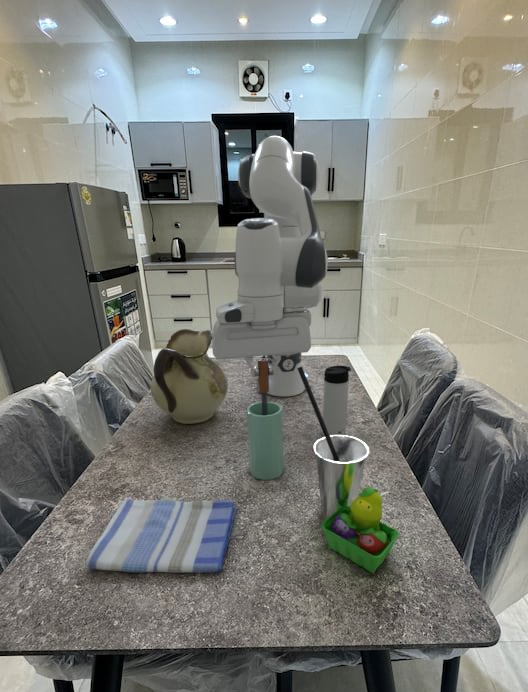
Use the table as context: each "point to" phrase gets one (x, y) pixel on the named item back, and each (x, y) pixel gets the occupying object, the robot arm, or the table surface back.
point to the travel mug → (335, 399)
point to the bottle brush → (263, 383)
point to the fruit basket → (361, 531)
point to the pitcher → (188, 378)
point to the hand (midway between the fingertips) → (263, 375)
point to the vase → (265, 440)
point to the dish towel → (165, 537)
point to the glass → (336, 463)
